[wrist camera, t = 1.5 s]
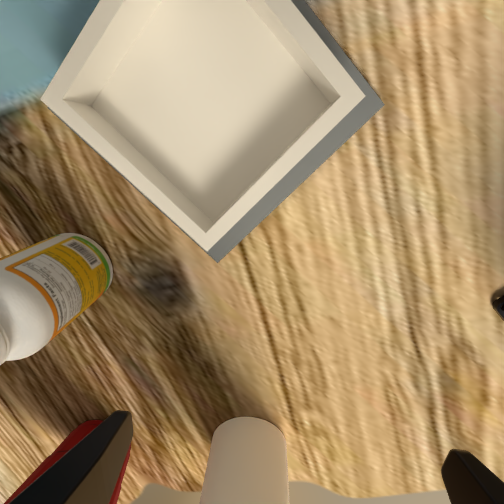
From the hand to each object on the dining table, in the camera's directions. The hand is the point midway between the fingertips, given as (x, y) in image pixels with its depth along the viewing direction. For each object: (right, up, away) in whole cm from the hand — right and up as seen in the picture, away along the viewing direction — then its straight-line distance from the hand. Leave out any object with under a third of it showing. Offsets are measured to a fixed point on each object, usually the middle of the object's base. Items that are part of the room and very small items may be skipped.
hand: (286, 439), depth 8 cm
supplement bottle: (-14, +4, +13) cm, 20 cm away
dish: (-3, +14, +8) cm, 16 cm away
